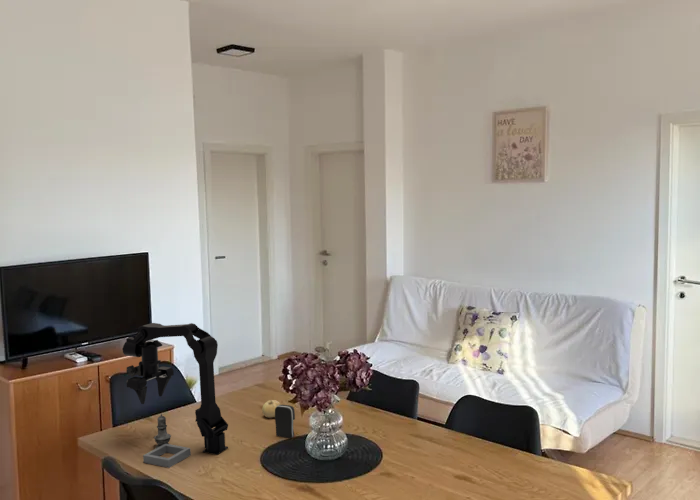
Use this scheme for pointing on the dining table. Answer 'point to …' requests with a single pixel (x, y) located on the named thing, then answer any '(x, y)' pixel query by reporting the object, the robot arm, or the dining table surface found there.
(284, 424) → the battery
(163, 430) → the grey tall tiered piece
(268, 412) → the onion
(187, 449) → the frame
